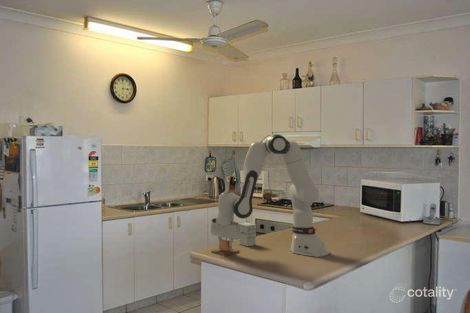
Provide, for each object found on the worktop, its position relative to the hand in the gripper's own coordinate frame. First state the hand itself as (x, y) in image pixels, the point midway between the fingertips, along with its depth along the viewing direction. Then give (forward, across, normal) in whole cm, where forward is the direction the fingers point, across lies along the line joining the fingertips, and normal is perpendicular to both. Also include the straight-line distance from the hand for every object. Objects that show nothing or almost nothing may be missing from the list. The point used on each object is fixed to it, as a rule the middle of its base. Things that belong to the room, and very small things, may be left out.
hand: (225, 245), depth 229 cm
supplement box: (+4, +3, -23) cm, 24 cm away
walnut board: (+4, 0, 0) cm, 4 cm away
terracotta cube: (+2, 0, 0) cm, 2 cm away
